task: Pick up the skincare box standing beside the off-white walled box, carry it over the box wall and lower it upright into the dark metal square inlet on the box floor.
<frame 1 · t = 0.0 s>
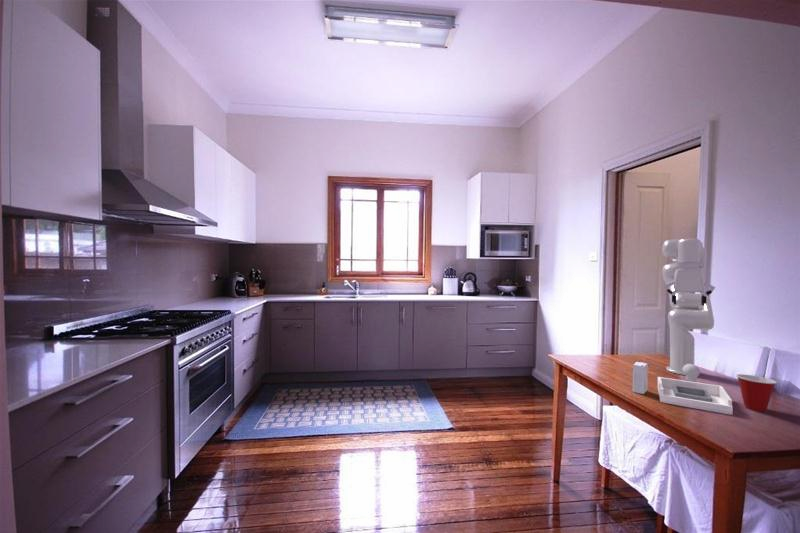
hand: (688, 304, 151), 37 cm above the table, tool pointing down, fingers open, 9 cm apart
plastic cup: (755, 409, 129), on the table
light bulb: (691, 386, 152), on the table
skincare box: (640, 392, 147), on the table
walled box: (691, 400, 138), on the table
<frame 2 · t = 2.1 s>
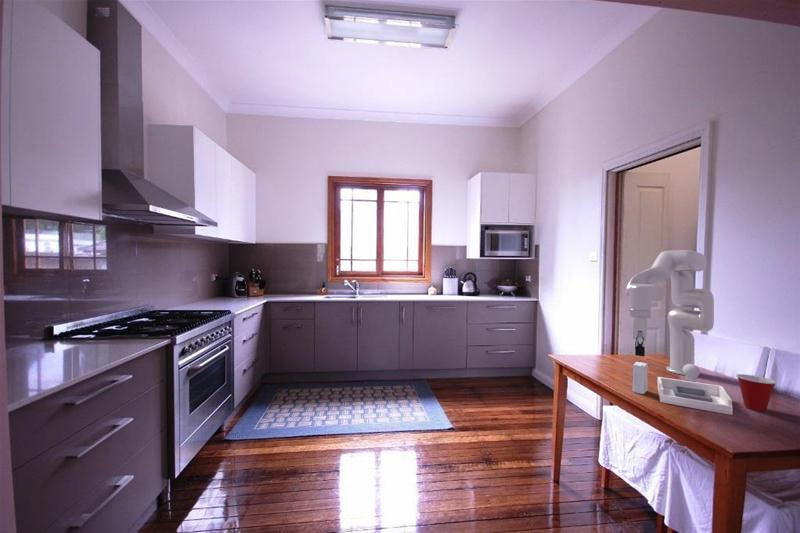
hand: (639, 353, 147), 17 cm above the table, tool pointing down, fingers open, 9 cm apart
nothing on the table moved.
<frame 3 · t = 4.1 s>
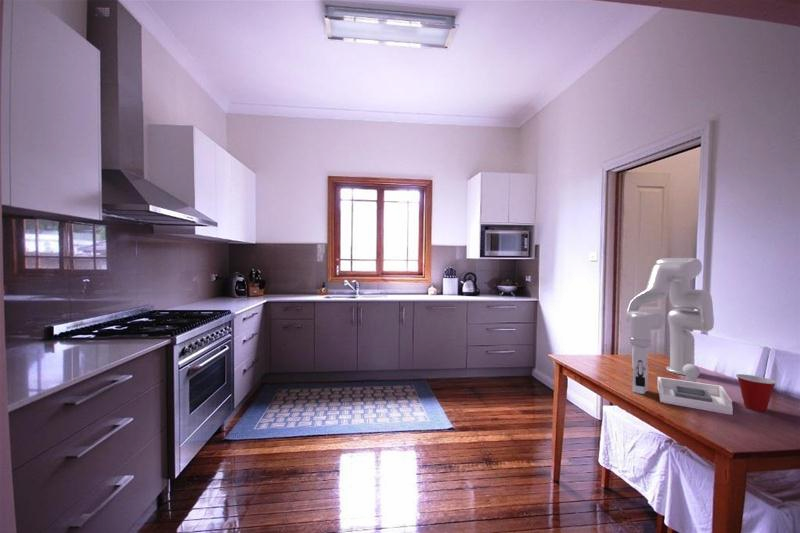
hand: (640, 382, 147), 4 cm above the table, tool pointing down, fingers closed on skincare box, 6 cm apart
skincare box: (640, 392, 147), on the table, touching gripper
everything else where it was.
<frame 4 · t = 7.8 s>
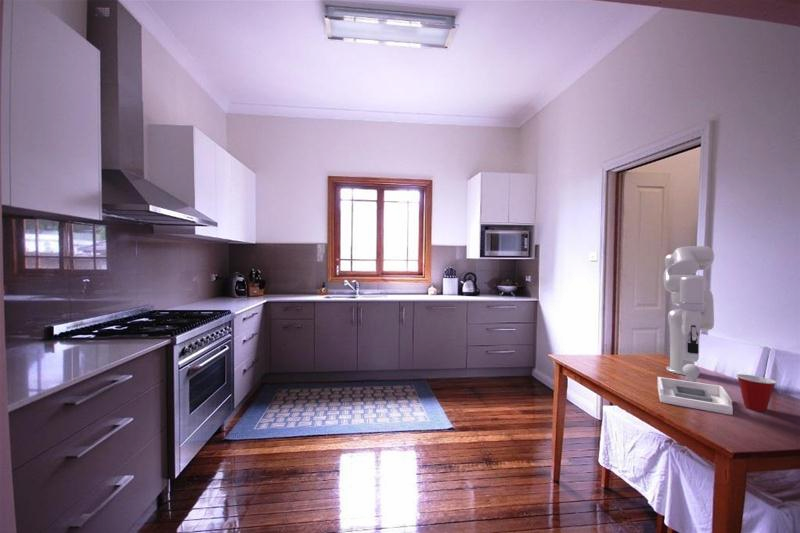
hand: (691, 350, 137), 20 cm above the table, tool pointing down, fingers closed on skincare box, 6 cm apart
skincare box: (691, 360, 137), point 16 cm above the table, touching gripper
everything else where it was.
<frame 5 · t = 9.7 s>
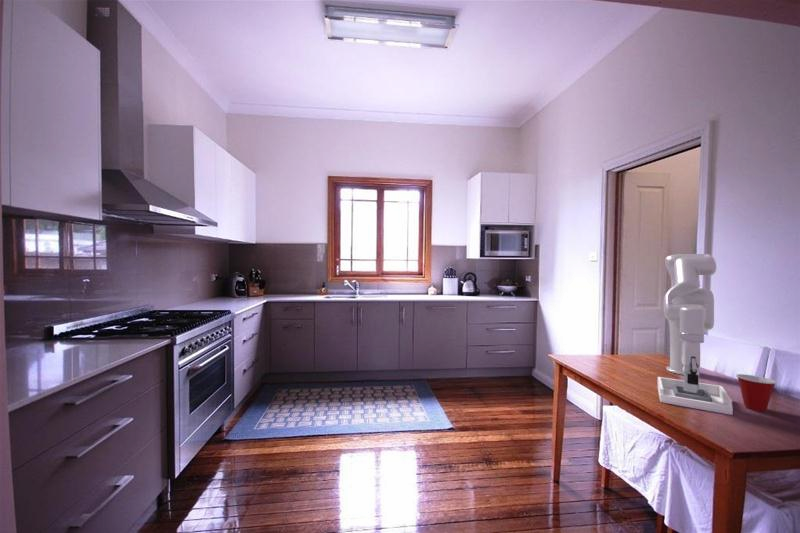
hand: (691, 381, 138), 8 cm above the table, tool pointing down, fingers closed on skincare box, 6 cm apart
skincare box: (691, 390, 138), point 4 cm above the table, touching gripper
everything else where it was.
when the fingers open (5 cm above the table, at t = 11.5 s): skincare box stays where it is, resting on walled box.
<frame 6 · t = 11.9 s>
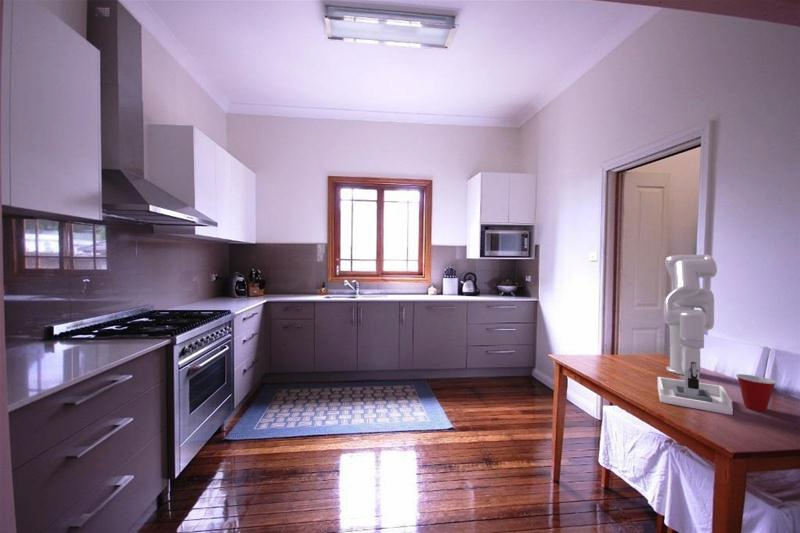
hand: (691, 384, 138), 6 cm above the table, tool pointing down, fingers open, 9 cm apart
skincare box: (691, 398, 138), point 1 cm above the table, touching walled box
everything else where it was.
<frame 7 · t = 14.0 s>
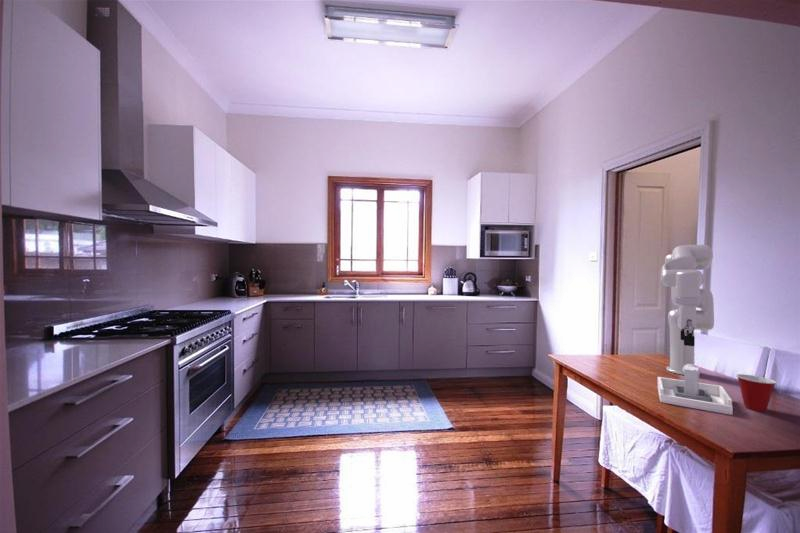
hand: (687, 342, 139), 23 cm above the table, tool pointing down, fingers open, 9 cm apart
nothing on the table moved.
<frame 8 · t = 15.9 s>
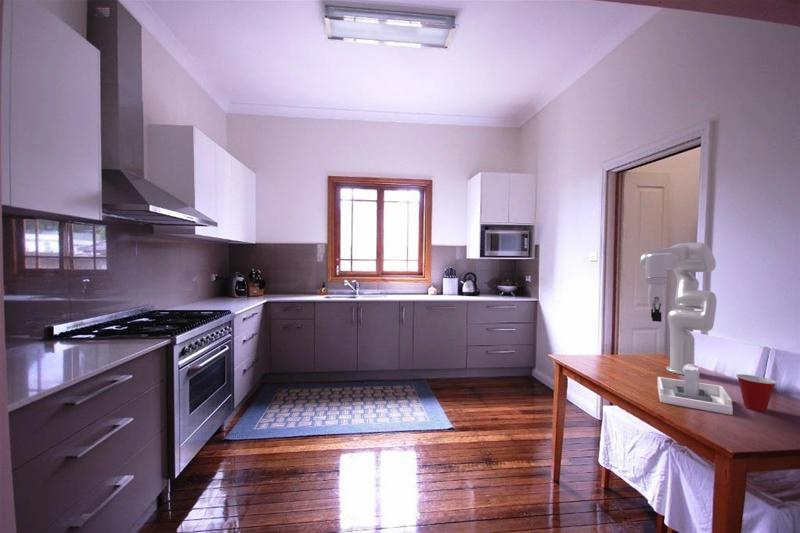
hand: (656, 319, 152), 30 cm above the table, tool pointing down, fingers open, 9 cm apart
nothing on the table moved.
at the end: skincare box 0.1 cm off-centre on the walled box, point 0.8 cm above the walled box's base; skincare box tilted 0°; the gripper is holding nothing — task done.
